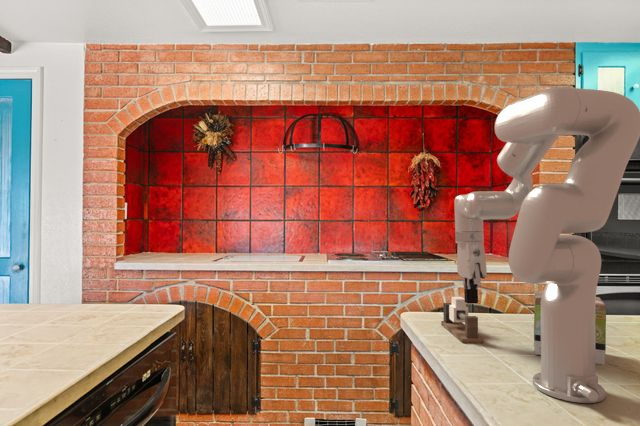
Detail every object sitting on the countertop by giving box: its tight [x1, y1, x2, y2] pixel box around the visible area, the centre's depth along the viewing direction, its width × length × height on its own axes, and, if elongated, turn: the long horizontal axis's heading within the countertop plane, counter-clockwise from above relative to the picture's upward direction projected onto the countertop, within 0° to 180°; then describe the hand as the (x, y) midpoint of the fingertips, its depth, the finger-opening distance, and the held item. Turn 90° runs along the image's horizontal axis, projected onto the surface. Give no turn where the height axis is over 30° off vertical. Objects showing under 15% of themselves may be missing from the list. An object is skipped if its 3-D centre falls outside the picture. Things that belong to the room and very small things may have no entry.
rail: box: [441, 302, 485, 344], centre depth 120 cm, size 18×6×7 cm, turn 1°
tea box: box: [533, 291, 607, 366], centre depth 102 cm, size 15×10×15 cm, turn 62°
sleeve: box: [449, 296, 469, 323], centre depth 121 cm, size 4×4×7 cm
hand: (471, 302), depth 112 cm, fingers closed
